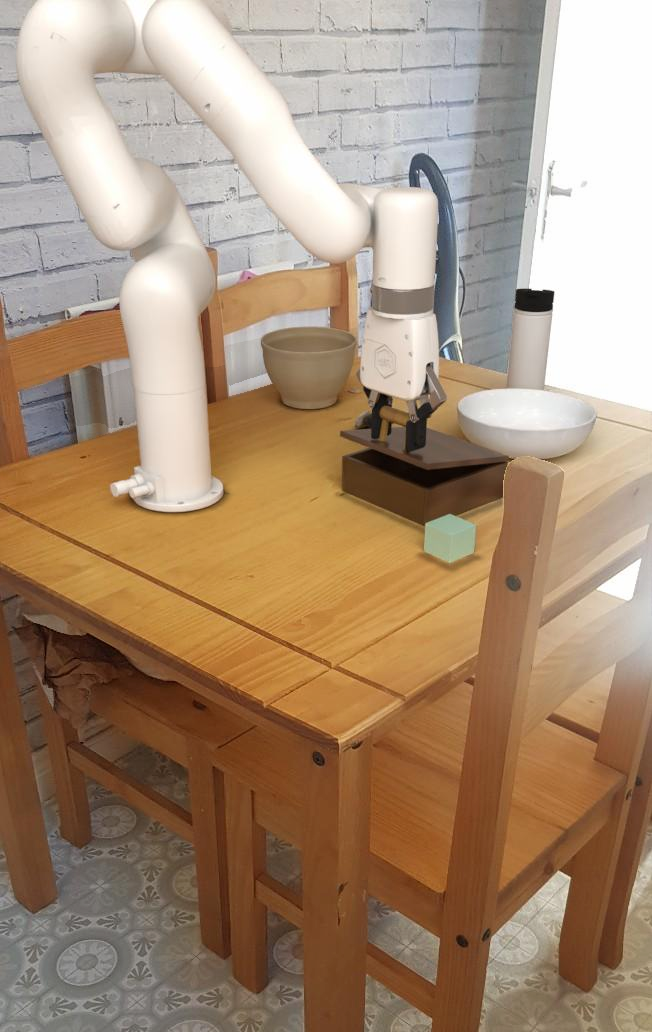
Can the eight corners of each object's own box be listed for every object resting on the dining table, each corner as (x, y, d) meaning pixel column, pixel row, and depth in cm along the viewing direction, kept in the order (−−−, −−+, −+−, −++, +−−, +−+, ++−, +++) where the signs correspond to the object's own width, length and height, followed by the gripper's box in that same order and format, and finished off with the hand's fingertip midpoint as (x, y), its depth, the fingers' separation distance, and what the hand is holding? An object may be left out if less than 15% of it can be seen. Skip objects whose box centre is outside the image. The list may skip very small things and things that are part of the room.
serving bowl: (620, 460, 156) (627, 416, 152) (507, 485, 147) (512, 438, 144) (534, 421, 171) (538, 379, 168) (427, 441, 163) (430, 398, 159)
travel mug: (501, 413, 175) (513, 289, 164) (507, 401, 180) (518, 281, 169) (538, 416, 173) (552, 292, 162) (543, 404, 178) (557, 283, 168)
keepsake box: (426, 532, 134) (428, 490, 131) (341, 495, 144) (342, 456, 141) (504, 501, 143) (508, 461, 140) (418, 468, 153) (420, 431, 150)
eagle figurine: (411, 435, 162) (402, 407, 168) (388, 401, 157) (380, 374, 164) (369, 460, 164) (362, 431, 170) (346, 427, 160) (340, 399, 166)
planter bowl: (244, 400, 181) (241, 336, 175) (315, 382, 189) (315, 321, 184) (301, 423, 170) (301, 356, 164) (374, 403, 179) (376, 339, 173)
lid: (427, 469, 129) (434, 426, 127) (339, 436, 140) (345, 396, 137) (507, 461, 140) (516, 421, 137) (420, 430, 150) (427, 393, 148)
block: (449, 567, 125) (451, 534, 123) (423, 555, 128) (425, 523, 126) (473, 557, 128) (476, 524, 125) (447, 545, 130) (449, 513, 128)
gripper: (333, 292, 129) (333, 433, 139) (433, 317, 118) (425, 467, 128) (376, 284, 134) (373, 420, 143) (476, 306, 123) (466, 453, 132)
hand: (398, 441), depth 136 cm, fingers closed on lid, 5 cm apart
